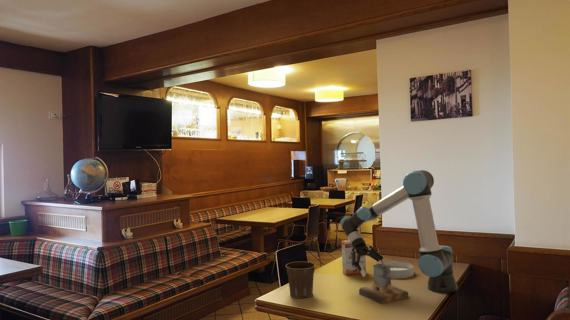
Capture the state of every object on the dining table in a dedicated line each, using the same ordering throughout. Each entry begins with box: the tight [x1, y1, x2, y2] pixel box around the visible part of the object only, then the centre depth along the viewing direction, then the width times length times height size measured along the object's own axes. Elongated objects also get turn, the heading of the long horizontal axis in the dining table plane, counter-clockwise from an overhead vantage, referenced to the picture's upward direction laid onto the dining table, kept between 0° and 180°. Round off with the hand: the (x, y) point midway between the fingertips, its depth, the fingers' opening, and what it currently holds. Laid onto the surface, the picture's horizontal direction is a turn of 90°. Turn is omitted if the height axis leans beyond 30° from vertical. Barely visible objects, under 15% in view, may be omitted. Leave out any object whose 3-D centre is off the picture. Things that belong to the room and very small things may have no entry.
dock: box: [358, 284, 409, 304], centre depth 209 cm, size 18×18×3 cm
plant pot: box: [285, 261, 316, 299], centre depth 216 cm, size 16×16×16 cm
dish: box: [382, 261, 415, 279], centre depth 248 cm, size 22×22×5 cm
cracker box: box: [341, 239, 367, 276], centre depth 253 cm, size 14×6×21 cm, turn 105°
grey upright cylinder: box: [372, 263, 393, 292], centre depth 209 cm, size 7×7×13 cm
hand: (375, 273), depth 213 cm, fingers open, 13 cm apart
